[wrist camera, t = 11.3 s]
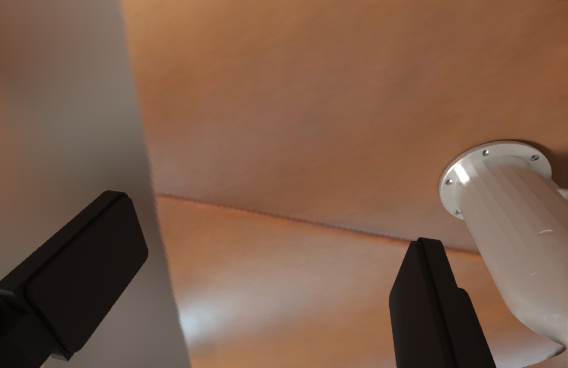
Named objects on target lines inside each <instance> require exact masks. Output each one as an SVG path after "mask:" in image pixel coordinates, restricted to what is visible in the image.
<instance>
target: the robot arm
mask: <svg viewBox="0 0 568 368" xmlns="http://www.w3.org/2000/svg"><path fill="white" fill-rule="evenodd" d="M551 178H552V170H551V166H550V163H549V161H548V160H547V158H546V157H545V156H544V155H543V154H542V153H541V152H540V151H539V150H537V149H536V148H534V147H532V146H530V145H529V144H526V143H522V142H518V141H508V140H507V141H495V142H490V143H485V144H482V145H479V146H477V147H474V148H472V149H470V150H468V151H466V152H464V153H463V154H461V155H460V156H459V157H457V158H456V159H455V160H454V161H453V162H452V163H451V164H450V165H449V166H448V167H447V168H446V170H445V171H444V172H443V175H442V177H441V179H440V183H439V196H440V199H441V201H442V203H443V205H444V207H445V208H446V209H447V211H448V212H449V213H451V214H452V215H453V216H455V217H457V218H459V219H461V220H464V221H465V223H466V225H467V227H468V229H469V231H470V233H471V235H472V237H473V239H474V241H475V243H476V245H477V247H478V249H479V251H480V253H481V255H482V257H483V260H484V262H485V264H486V266H487V268H488V270H489V272H490V274H491V276H492V278H493V280H494V282H495V284H496V286H497V288H498V290H499V292H500V294H501V296H502V298H503V300H504V302H505V303H506V305H507V307H508V308H509V310H510V311H511V312H512V313H513V315H514V316H515V317H516V318H517V319H518V320H520V321H521V322H522V323H523V324H524V325H526V326H527V327H529V328H530V329H532V330H533V331H535V332H537V333H538V334H540V335H542V336H544V337H546V338H548V339H550V340H552V341H554V342H556V343H558V344H560V345H562V346H564V347H566V350H565V351H564V353H562V354H560V355H558V356H555V357H552V358H550V359H547V360H544V361H543V362H540V363H537V364H533V365H530V366H527V367H523V368H568V201H567V200H568V188H560V187H559V186H558V185H557V184H556V183H555V182H554V181H553V180H552V179H551ZM147 257H148V248H147V245H146V242H145V239H144V236H143V233H142V230H141V227H140V224H139V221H138V218H137V215H136V212H135V209H134V206H133V202H132V200H131V198H129V197H128V195H127V194H126V193H124V192H118V191H111V190H107V191H105V192H103V193H102V194H101V195H100V196H99V197H98V198H96V199H95V200H94V201H93V202H92V203H91V204H90V205H88V206H87V207H86V208H85V209H83V210H82V211H81V212H80V213H79V214H78V215H77V216H75V217H74V218H73V219H72V220H71V221H70V222H68V223H67V224H66V225H65V226H64V227H63V228H61V229H60V230H59V231H58V232H57V233H56V234H54V235H53V236H52V237H51V238H50V239H49V240H47V241H46V242H45V243H44V244H43V245H42V246H40V247H39V248H38V249H37V250H36V251H35V252H33V253H32V254H31V255H30V256H29V257H28V258H26V259H25V260H24V261H23V262H22V263H21V264H20V265H18V266H17V267H16V268H15V269H14V270H12V271H11V272H10V273H9V274H8V275H7V276H5V277H4V278H3V279H2V280H1V281H0V368H43V367H44V362H45V361H46V360H47V358H48V357H49V356H51V357H52V358H55V359H59V360H64V361H69V360H70V358H71V357H72V356H73V354H74V353H75V352H77V351H79V350H80V349H81V348H82V347H83V346H84V345H85V343H86V342H87V341H88V339H89V338H90V336H91V335H92V334H93V332H94V331H95V330H96V328H97V327H98V325H99V324H100V323H101V321H102V320H103V319H104V317H105V316H106V315H107V313H108V312H109V311H110V309H111V308H112V306H113V305H114V304H115V302H116V301H117V300H118V298H119V297H120V295H121V294H122V293H123V291H124V290H125V289H126V287H127V286H128V284H129V283H130V282H131V280H132V279H133V278H134V276H135V275H136V273H137V272H138V271H139V269H140V268H141V267H142V265H143V263H145V261H146V259H147ZM389 308H390V316H391V324H392V333H393V341H394V349H395V357H396V365H397V368H496V365H495V362H494V360H493V357H492V355H491V352H490V349H489V347H488V344H487V341H486V339H485V336H484V334H483V331H482V328H481V326H480V323H479V320H478V318H477V315H476V313H475V310H474V307H473V305H472V302H471V299H470V297H469V295H468V293H467V292H466V291H465V290H464V289H462V288H458V287H457V284H456V281H455V278H454V275H453V273H452V270H451V267H450V264H449V261H448V258H447V256H446V253H445V250H444V247H443V244H442V242H441V241H440V240H435V239H429V238H422V237H419V238H418V240H417V241H411V243H410V245H409V248H408V250H407V252H406V255H405V257H404V260H403V262H402V265H401V267H400V270H399V272H398V275H397V277H396V280H395V282H394V285H393V287H392V290H391V292H390V296H389Z"/></svg>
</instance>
